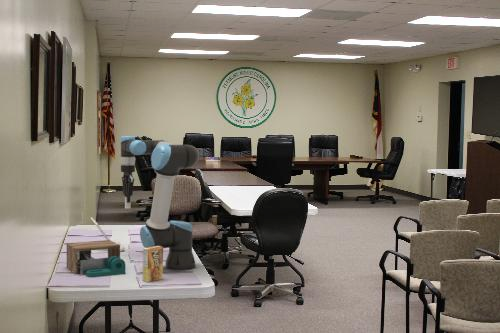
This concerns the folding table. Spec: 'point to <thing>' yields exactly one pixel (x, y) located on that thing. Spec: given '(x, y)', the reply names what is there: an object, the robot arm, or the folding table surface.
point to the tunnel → (86, 246)
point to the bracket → (109, 268)
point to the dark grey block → (90, 262)
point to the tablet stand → (106, 239)
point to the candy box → (152, 263)
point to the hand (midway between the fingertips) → (127, 208)
